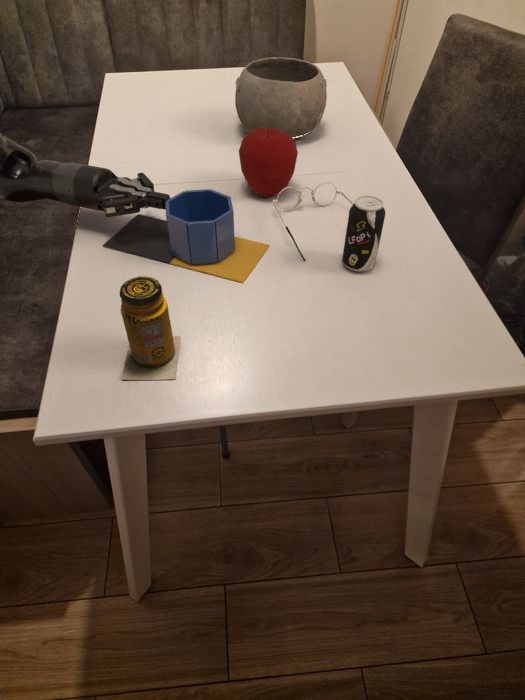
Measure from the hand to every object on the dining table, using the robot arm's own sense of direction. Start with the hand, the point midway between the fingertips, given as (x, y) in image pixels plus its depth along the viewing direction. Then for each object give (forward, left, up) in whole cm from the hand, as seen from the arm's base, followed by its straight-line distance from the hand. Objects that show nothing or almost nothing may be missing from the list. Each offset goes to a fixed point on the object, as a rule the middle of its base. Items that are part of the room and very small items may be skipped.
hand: (168, 202), depth 84 cm
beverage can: (+32, -11, -8) cm, 35 cm away
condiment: (-3, -29, -8) cm, 31 cm away
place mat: (+2, -2, -8) cm, 8 cm away
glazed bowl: (+5, -3, -8) cm, 10 cm away
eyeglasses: (+28, +1, -8) cm, 29 cm away
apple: (+20, +17, -8) cm, 27 cm away
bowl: (+27, +48, -8) cm, 56 cm away
